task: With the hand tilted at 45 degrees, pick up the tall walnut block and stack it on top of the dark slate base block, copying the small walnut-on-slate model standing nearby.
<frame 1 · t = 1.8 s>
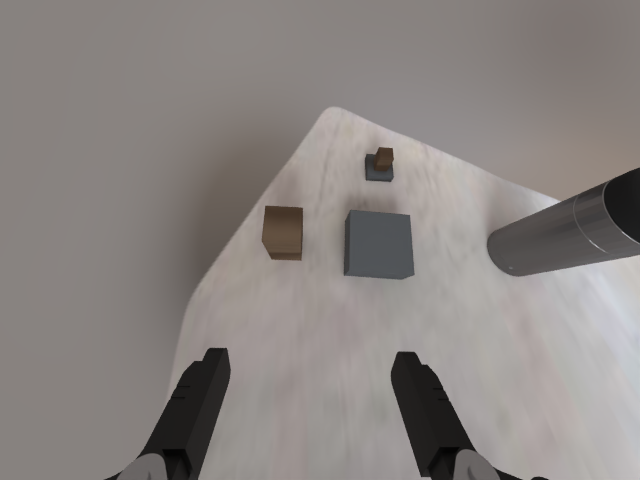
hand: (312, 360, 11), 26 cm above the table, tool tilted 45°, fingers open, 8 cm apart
walnut block: (287, 245, 39), on the table
slate base block: (372, 249, 41), on the table
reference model: (377, 170, 46), on the table
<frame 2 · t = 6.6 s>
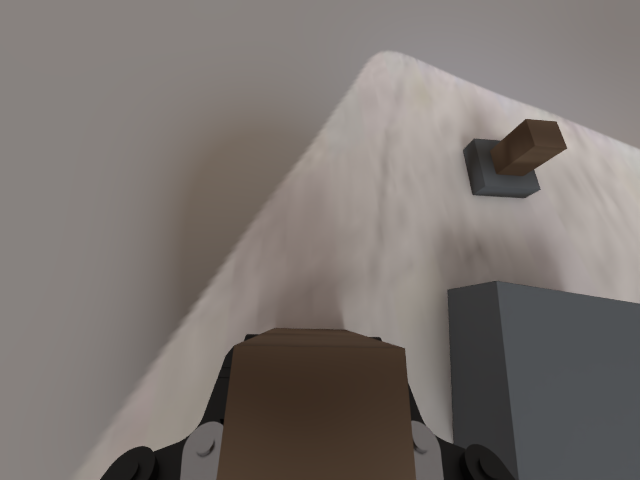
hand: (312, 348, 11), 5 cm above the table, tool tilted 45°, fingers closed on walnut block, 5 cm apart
walnut block: (308, 368, 15), on the table, touching gripper
slate base block: (514, 370, 17), on the table
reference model: (492, 173, 22), on the table
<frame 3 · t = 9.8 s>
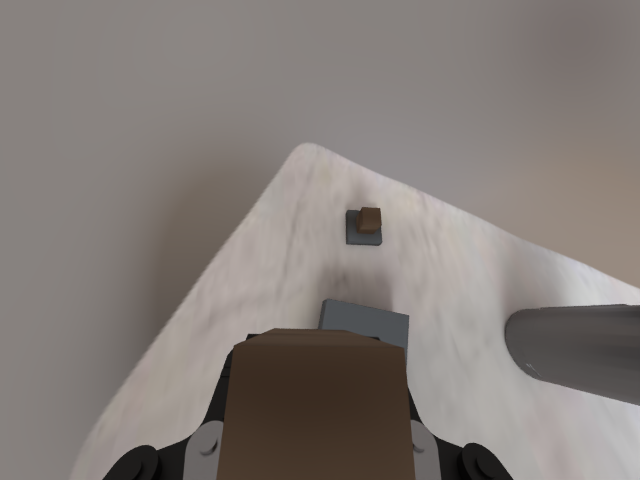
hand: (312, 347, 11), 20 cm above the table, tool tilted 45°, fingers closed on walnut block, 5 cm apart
walnut block: (308, 369, 15), point 15 cm above the table, touching gripper
slate base block: (352, 347, 30), on the table
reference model: (361, 229, 35), on the table
when the fingers open (11 cm above the table, at t = 12.8 s): walnut block drops 2 cm, resting on slate base block.
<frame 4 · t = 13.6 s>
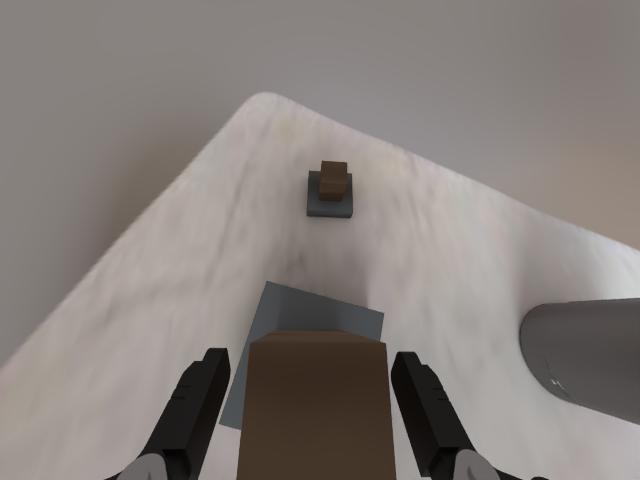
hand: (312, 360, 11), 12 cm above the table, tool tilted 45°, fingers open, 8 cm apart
walnut block: (307, 365, 17), point 5 cm above the table, touching slate base block
slate base block: (307, 353, 22), on the table, touching walnut block
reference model: (328, 197, 27), on the table
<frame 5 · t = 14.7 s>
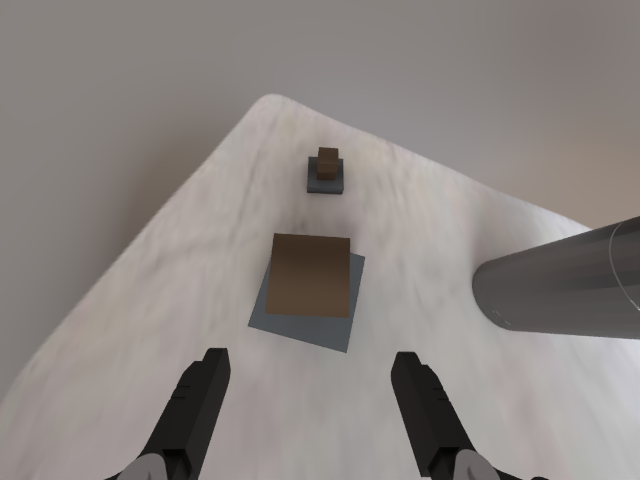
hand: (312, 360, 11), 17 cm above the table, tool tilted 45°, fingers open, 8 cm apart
walnut block: (308, 288, 24), point 5 cm above the table, touching slate base block
slate base block: (308, 293, 29), on the table, touching walnut block
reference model: (324, 178, 34), on the table
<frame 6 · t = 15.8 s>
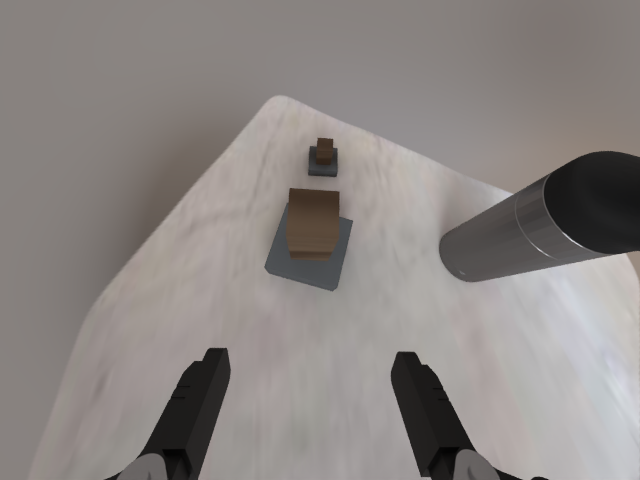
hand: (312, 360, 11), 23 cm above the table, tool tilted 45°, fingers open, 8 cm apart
walnut block: (310, 242, 32), point 5 cm above the table, touching slate base block
slate base block: (309, 252, 36), on the table, touching walnut block
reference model: (322, 164, 41), on the table
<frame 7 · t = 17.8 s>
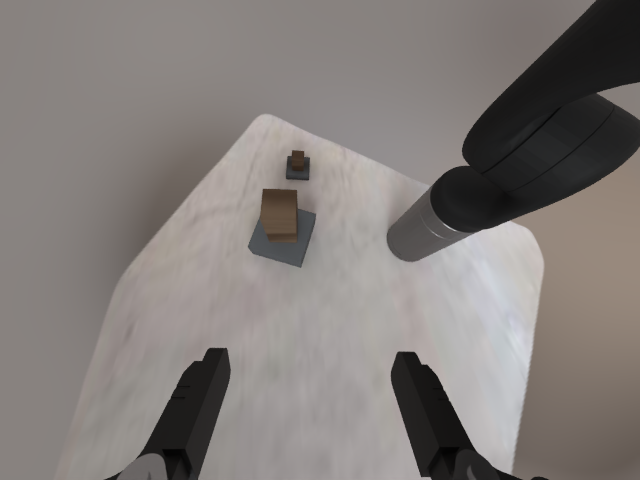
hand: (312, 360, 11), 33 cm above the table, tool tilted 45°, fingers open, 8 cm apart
walnut block: (284, 229, 42), point 5 cm above the table, touching slate base block
slate base block: (284, 238, 47), on the table, touching walnut block
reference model: (298, 170, 52), on the table
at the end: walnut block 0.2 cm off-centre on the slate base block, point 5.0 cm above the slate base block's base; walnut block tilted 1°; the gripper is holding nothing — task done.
